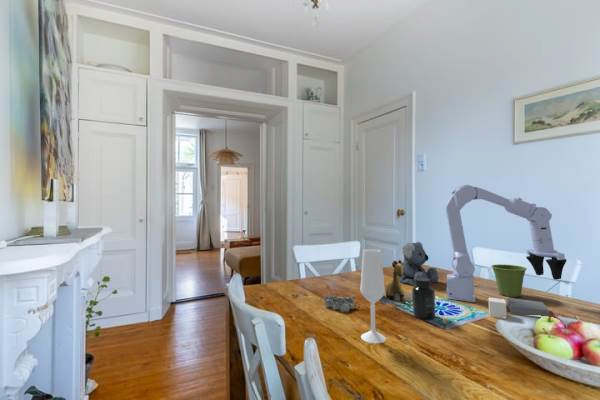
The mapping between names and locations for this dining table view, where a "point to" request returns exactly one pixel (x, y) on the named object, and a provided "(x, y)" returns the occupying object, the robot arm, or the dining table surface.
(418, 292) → the supplement bottle
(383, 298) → the stuffed giraffe
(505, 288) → the plant pot
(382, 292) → the champagne flute
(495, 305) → the cream block
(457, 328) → the dining table surface
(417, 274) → the koala plush
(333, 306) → the egg carton
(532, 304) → the slate slab
